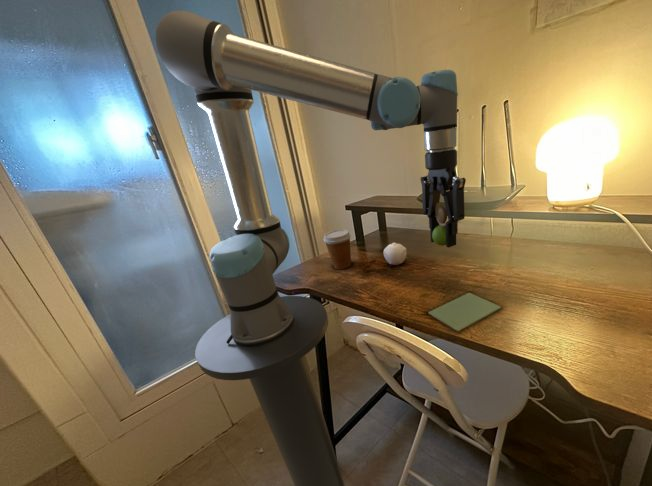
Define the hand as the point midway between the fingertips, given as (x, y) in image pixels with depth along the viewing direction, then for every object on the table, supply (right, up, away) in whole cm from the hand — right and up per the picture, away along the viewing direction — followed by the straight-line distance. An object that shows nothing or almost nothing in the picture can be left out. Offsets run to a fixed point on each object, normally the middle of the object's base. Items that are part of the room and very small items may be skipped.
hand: (443, 243), depth 81 cm
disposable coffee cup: (-30, -5, +28) cm, 41 cm away
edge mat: (+3, -17, -8) cm, 20 cm away
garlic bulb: (-11, -5, +23) cm, 25 cm away
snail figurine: (0, 0, +1) cm, 1 cm away
